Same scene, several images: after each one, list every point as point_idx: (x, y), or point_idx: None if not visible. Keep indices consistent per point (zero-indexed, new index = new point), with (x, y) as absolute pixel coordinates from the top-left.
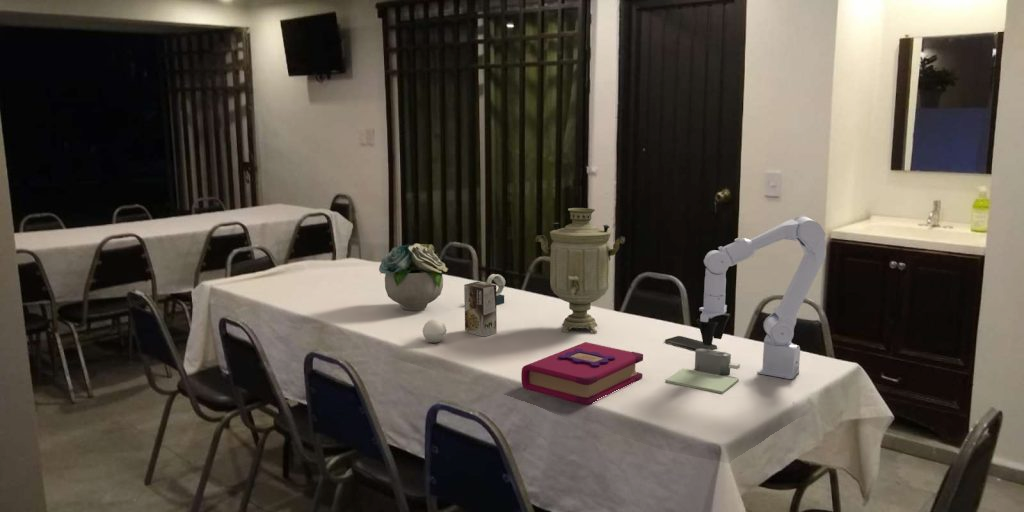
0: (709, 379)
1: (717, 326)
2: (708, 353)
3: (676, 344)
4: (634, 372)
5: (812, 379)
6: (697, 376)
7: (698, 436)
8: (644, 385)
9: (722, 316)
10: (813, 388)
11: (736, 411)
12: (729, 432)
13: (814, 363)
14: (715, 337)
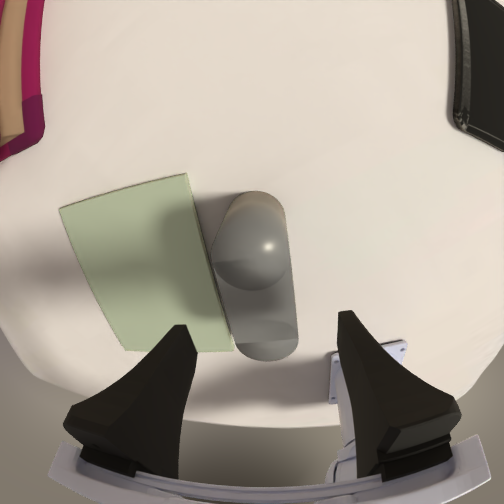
0: (161, 300)
1: (357, 386)
2: (228, 297)
3: (456, 14)
4: (12, 135)
5: None
6: (151, 263)
7: (18, 354)
8: (19, 187)
9: (363, 469)
10: (302, 425)
11: (93, 377)
12: (50, 378)
13: (457, 373)
14: (339, 324)
